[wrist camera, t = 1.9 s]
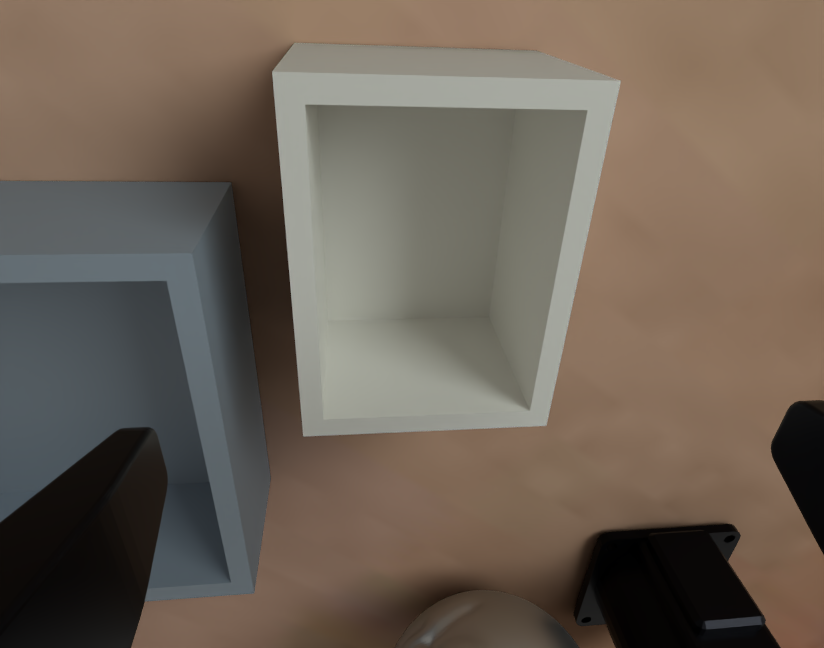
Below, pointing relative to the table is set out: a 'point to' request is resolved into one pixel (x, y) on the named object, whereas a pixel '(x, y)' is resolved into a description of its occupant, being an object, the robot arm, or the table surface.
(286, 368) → the table surface
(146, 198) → the large crate
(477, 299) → the box
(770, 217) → the table surface
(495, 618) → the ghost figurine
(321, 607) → the table surface
